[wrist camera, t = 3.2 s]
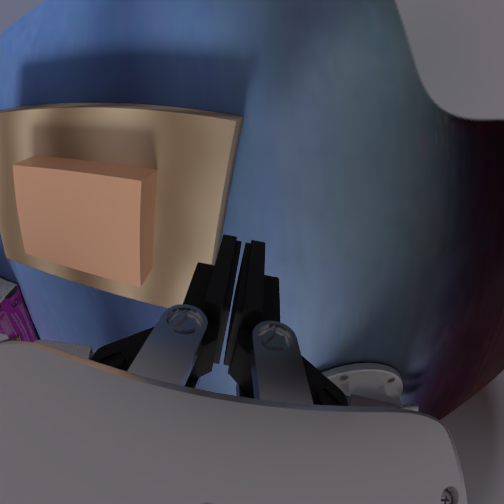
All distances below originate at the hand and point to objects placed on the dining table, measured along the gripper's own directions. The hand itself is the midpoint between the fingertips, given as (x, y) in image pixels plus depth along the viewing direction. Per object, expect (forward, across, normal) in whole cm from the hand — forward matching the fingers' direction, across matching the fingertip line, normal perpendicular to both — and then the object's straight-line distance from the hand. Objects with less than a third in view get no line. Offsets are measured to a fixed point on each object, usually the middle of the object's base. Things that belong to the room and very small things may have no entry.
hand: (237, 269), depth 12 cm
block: (+4, +9, +1) cm, 10 cm away
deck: (+7, +10, +1) cm, 13 cm away
